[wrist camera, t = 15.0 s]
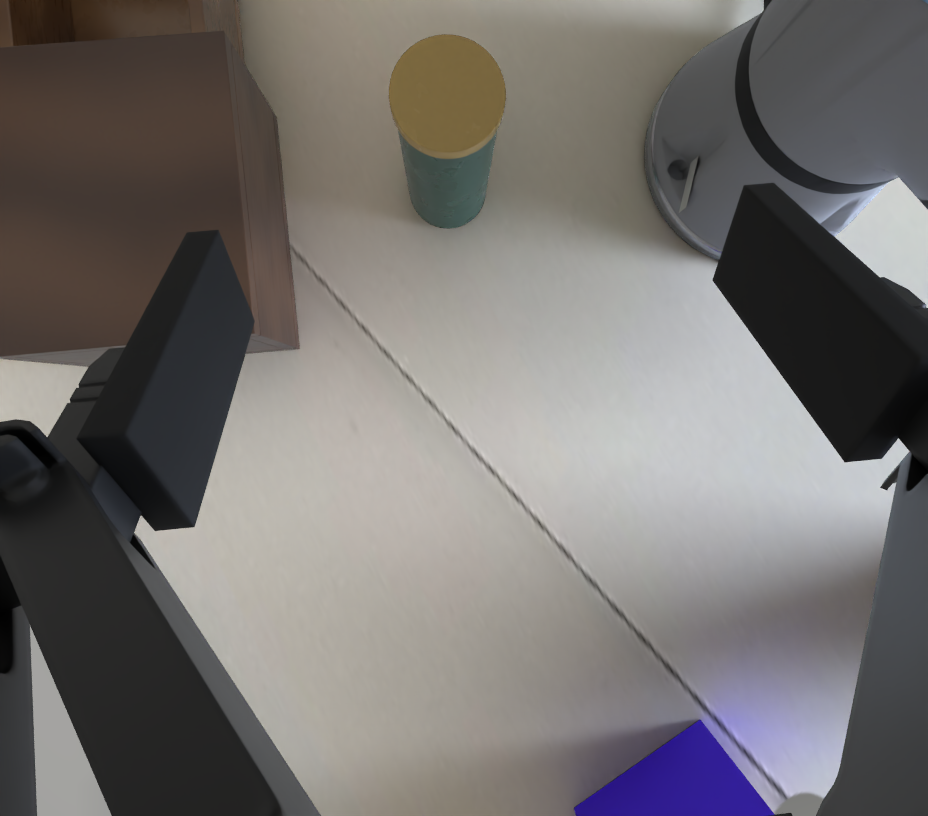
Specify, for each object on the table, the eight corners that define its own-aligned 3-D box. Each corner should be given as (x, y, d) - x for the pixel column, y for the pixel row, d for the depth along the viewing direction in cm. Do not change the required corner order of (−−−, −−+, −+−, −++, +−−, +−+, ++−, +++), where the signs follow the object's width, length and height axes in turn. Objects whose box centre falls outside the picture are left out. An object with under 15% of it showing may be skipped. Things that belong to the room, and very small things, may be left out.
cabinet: (71, 133, 37) (-48, 50, 28) (276, 117, 37) (223, 29, 28) (96, 367, 37) (-14, 357, 28) (300, 348, 37) (254, 333, 29)
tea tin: (429, 136, 37) (421, 12, 25) (501, 173, 38) (526, 67, 26) (393, 208, 37) (368, 118, 25) (465, 244, 38) (473, 172, 26)
